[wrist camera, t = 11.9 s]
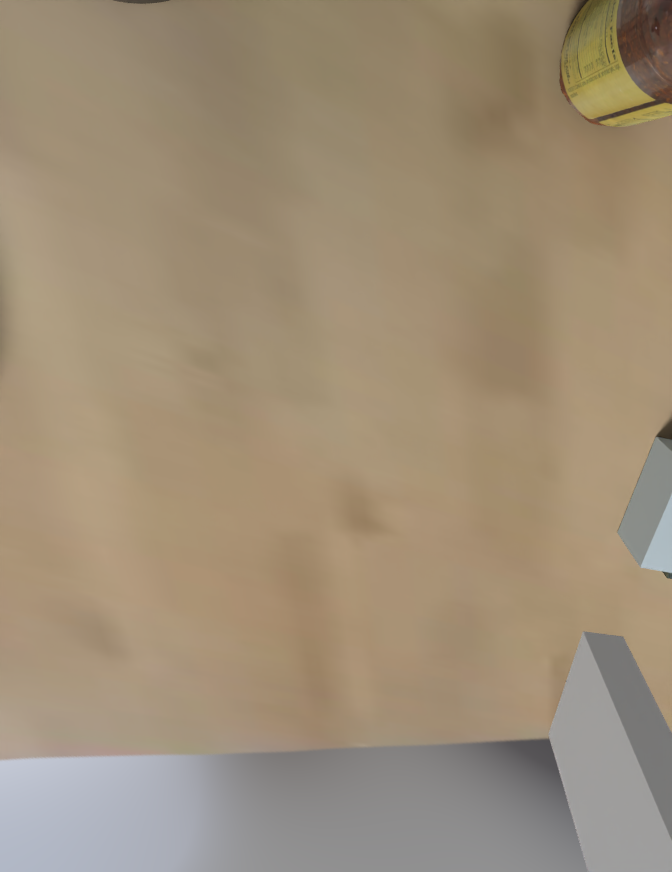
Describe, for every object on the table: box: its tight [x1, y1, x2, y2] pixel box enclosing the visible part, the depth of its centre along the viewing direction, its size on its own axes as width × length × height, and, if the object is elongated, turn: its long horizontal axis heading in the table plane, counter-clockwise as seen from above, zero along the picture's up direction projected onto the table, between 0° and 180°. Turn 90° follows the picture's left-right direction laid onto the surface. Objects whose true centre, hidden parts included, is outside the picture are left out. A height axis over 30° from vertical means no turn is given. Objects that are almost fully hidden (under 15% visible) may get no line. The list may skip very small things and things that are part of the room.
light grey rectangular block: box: [617, 437, 672, 573], centre depth 39 cm, size 7×2×4 cm, turn 170°
